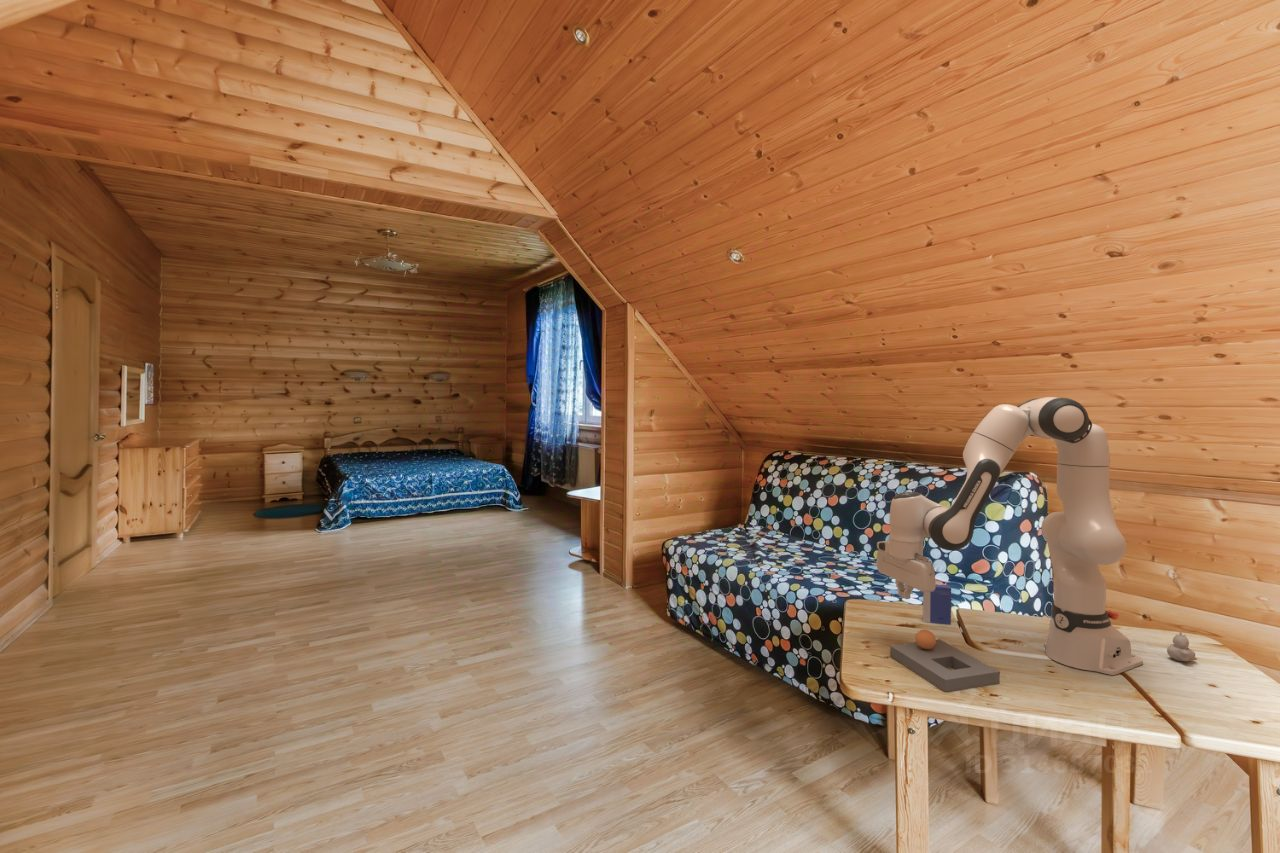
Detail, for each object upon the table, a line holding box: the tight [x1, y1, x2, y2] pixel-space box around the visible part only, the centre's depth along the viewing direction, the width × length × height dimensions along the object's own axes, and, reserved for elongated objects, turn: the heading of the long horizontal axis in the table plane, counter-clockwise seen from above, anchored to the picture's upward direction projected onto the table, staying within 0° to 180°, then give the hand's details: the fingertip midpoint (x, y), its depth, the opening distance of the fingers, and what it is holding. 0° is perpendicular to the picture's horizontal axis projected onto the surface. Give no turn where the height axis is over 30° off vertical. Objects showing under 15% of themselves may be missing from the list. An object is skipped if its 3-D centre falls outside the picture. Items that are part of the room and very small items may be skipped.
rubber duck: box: [1166, 630, 1196, 663], centre depth 153 cm, size 5×7×8 cm
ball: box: [915, 629, 937, 649], centre depth 156 cm, size 5×5×5 cm
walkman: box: [921, 583, 952, 626], centre depth 181 cm, size 8×3×12 cm, turn 70°
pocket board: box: [889, 638, 1001, 693], centre depth 150 cm, size 16×20×3 cm
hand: (904, 597), depth 163 cm, fingers closed
